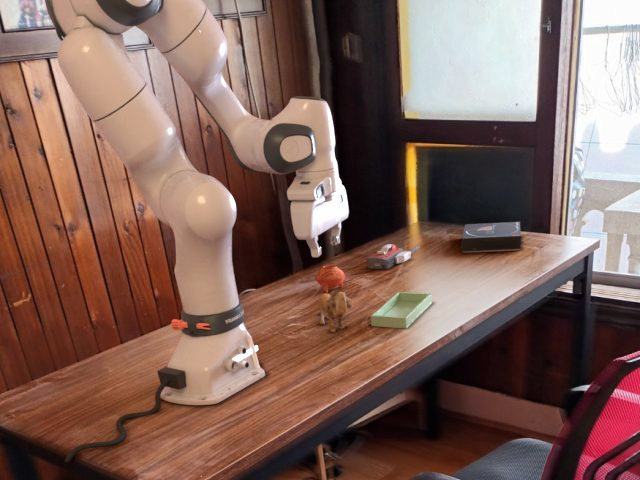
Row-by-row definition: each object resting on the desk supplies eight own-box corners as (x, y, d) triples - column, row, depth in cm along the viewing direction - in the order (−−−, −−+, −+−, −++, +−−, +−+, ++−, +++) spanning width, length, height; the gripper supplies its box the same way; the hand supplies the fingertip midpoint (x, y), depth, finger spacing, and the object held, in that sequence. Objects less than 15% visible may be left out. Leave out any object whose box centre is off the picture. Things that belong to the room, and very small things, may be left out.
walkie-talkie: (392, 271, 207) (422, 251, 221) (390, 255, 204) (421, 236, 219) (364, 269, 211) (395, 250, 225) (362, 253, 208) (394, 235, 222)
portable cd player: (463, 238, 231) (463, 224, 229) (519, 235, 228) (520, 221, 226) (460, 252, 217) (460, 238, 215) (520, 250, 215) (520, 235, 212)
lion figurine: (358, 330, 171) (355, 291, 166) (338, 336, 169) (334, 297, 164) (326, 315, 181) (322, 277, 176) (307, 320, 179) (302, 283, 174)
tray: (406, 328, 170) (405, 318, 168) (371, 326, 173) (370, 315, 171) (431, 303, 182) (431, 293, 181) (398, 301, 186) (398, 291, 184)
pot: (308, 289, 198) (309, 263, 195) (331, 289, 203) (333, 263, 200) (326, 294, 193) (328, 267, 190) (350, 293, 198) (352, 267, 195)
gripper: (326, 173, 167) (333, 237, 174) (282, 193, 151) (292, 263, 159) (352, 173, 164) (358, 238, 172) (310, 193, 149) (318, 264, 157)
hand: (326, 250), depth 165 cm, fingers open, 8 cm apart
